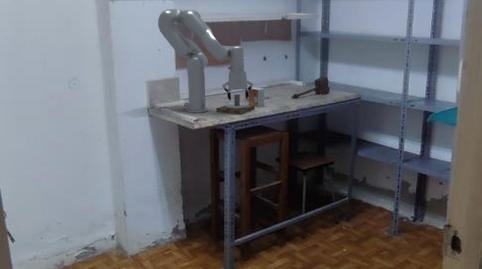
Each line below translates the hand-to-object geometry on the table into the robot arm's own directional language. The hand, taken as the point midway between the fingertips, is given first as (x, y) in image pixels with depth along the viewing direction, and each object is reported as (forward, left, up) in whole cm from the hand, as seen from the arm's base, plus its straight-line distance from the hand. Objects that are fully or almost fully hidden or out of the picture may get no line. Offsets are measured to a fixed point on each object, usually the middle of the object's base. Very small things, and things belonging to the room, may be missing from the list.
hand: (238, 99), depth 278 cm
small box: (+1, +21, -8) cm, 22 cm away
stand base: (-3, +3, -7) cm, 9 cm away
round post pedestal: (-3, +3, -5) cm, 7 cm away
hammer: (+17, +67, -8) cm, 69 cm away
